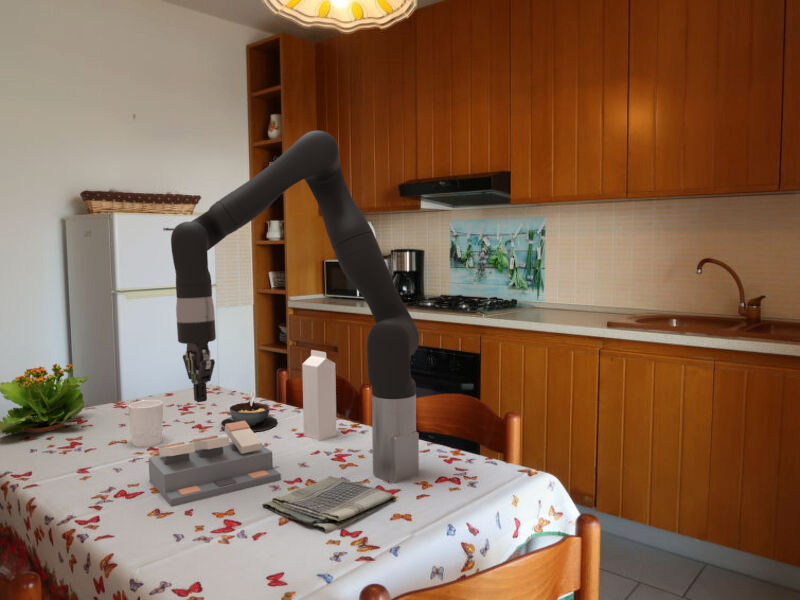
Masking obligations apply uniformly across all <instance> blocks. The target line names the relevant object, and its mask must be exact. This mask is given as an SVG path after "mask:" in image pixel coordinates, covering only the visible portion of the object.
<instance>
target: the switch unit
mask: <svg viewBox="0 0 800 600" xmlns="http://www.w3.org/2000/svg"><path fill="white" fill-rule="evenodd" d="M229 444H230V445H228V446H223V447H218V448H213V449H195V452H190V453H185V454H180V455H175V456H159V455H156V456H151V457H148V474H149V475H148V477H149V482H150V483H151V484H152V485H153V487H154V488H155V490H157V492H158V493H159V494H160V495H161V496H162V497H163V498H164V500H165V501H166V502H167V503H168V504H169V505H170V507H175V506H179V505H182V504H187V503H191V502H195V501H199V500H204V499H208V498H212V497H215V496H220V495H224V494H228V493H231V492H236V491H240V490H244V489H245V490H246V489H249V488H253V487H256V486H260V485H265V484H269V483H273V482H278V481H281V479H282V476H281V475H282V473H280V472H279V471H278V470H276V469H275V468H273V466H274V465H273V451H272V450H270V449H268V448H267V447H265V446H263V445H262V450H257V451H252V452H247V453H243V454H241V452H240V451H239V450H238V448H237V447H236V446H235V444H234V443H233V442H232V441H229Z"/></svg>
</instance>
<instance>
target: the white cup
mask: <svg viewBox="0 0 800 600" xmlns="http://www.w3.org/2000/svg"><path fill="white" fill-rule="evenodd" d="M163 403H164V401H162V400H159V399H146V400H145V399H144V400H138V401H135V402H131V403H130V404H128V414H129V415H128V416H129V426H130V433H131V440H132V441H131V442H132V445H133V446H134V447H137V448H138V447H139V448H144V447H145V448H146V447H152V446H153V447H154V446H156V445H159V444H161V443H162V442H163V424H164V423H163V422H164V421H163V420H164V404H163Z"/></svg>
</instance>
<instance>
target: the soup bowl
mask: <svg viewBox="0 0 800 600" xmlns="http://www.w3.org/2000/svg"><path fill="white" fill-rule="evenodd" d="M249 394H250V397H249V399H248V402H241V403H237V404H232V405H231V406H230V407H229V413H230V417H227V418H224V419H222V421H221V422H220V426H221V427H222V428H225V424H228V423H234V422H239V421H246V423H247V424H248V425H249V426H250V429H251V430H252V431H253V432H254V433H255V432H261V431H265V430H266V431H267V430H269V429H272V428H273V427H274V426H276V425H277V424H278V420H277V418H276V417H273V416H271V415H269V414H270V406H269V405H267V404H264V403H261V402H255V392H251V393H249Z"/></svg>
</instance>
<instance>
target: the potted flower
mask: <svg viewBox="0 0 800 600" xmlns="http://www.w3.org/2000/svg"><path fill="white" fill-rule="evenodd" d="M51 371H52V372H53V373H48V369H46V368H45V367H44V366H39V367H34V368H27V369H26V370H24V371H23V372H24V375H19V376H15V377H14V379H13V380H11V382H9V381H6V382H4V381H2V382H0V394H2V397H3V398H4V399H6V400H7V401H11V402H13V403H15V404H16V405H18V406H20V407H12V408H10V410H7V415H6V416H3V417H2V421H1V420H0V433H2V434H4V433H5V435H9V434H10V435H15V434H19V432H20V431H23V432H25V433H28V434H29V433H35V434H36V433H44V432H49V431H55V430H58V429H60V428H62V427H63V426H64V424H65V422H68V421H71V420H72V419H73V418H74V417H76V416H77V415H79V414H80V413H81V412H83V409H84V408H85V403H86V402H85V400H84V399H83V398H84V394H83V393H82V391H81V389H80V388H79V387H80V386H82V385H84V383H86V382H87V381H88V380H89V379H90V377H89V375H88V374H85V375H84V376H83V377H80V376H78V377H75V376H71V377H70V375H71V372H73V371H74V365H73V364H69V363H68V364H66V365H65V368H64V367H63V368H62V366H61V365H60V364H57V363H55V364H53V365H52V368H51ZM65 372H66V373H67V374H68V377H67V378H63V377H65Z"/></svg>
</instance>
